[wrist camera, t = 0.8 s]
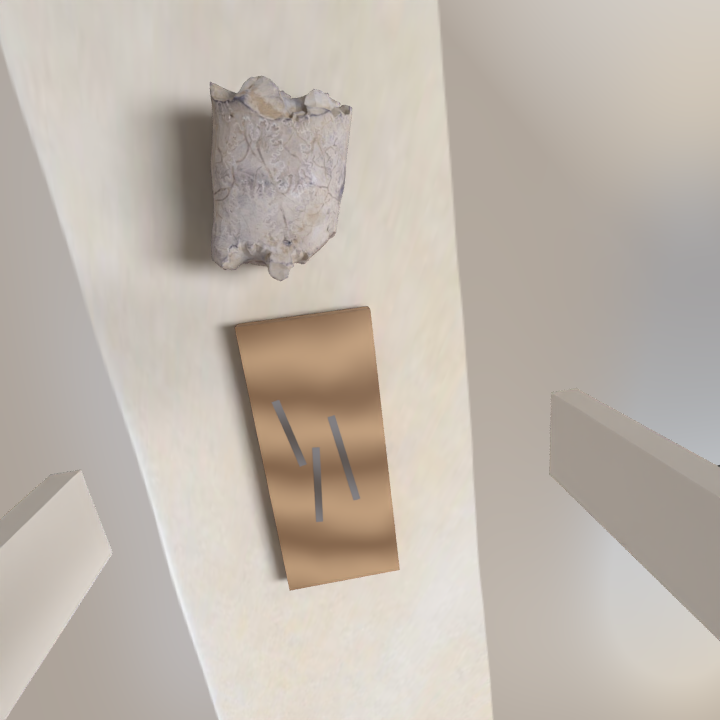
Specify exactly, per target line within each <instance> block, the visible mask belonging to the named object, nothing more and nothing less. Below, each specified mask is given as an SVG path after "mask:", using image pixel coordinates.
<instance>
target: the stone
mask: <svg viewBox="0 0 720 720" xmlns="http://www.w3.org/2000/svg"><path fill="white" fill-rule="evenodd" d="M210 95H211V101H212V117H213V131H212V137H213V138H212V154H211V176H212V187H213V195H214V222H213V228H212V239H211V252H212V260H213V261H214V262H215V263H216V264H218V265H219V266H220V267H222V268H223V269H224V270H227V269H231V270H236V268H237V267H238V266H240V265H241V264H242V263H244V264H246V263H252V264H256V265H261V266H267V267H268V271H269V274H270V275H271V276H272V277H273V278H274V279H277V280H279V281H282V280H284V279H286V278H288V275H289V271H290V269H291V268H292V267H293V266H294V263H300V264H305V263H306V262H307V261H308V260H309V259H310V258H311V257H312V256H313V255H314V254H315V253H316V252H317V251H318V250H319V249H321V248H322V247H323V246H324V245H325V244H326V243H327V241H328V240H329V239H330V238H332V237H333V236H334V235H335V233H336V229H337V221H338V220H337V219H338V215H339V208H340V202H341V197H342V193H343V189H344V184H345V174H346V159H347V150H348V142H349V133H350V126H351V117H352V107H350V106H347V105H342V106H341V107H340V103H339V102H337V101H335V100H333V99H331V98H330V97H329V94H328V93H323V92H322V91H320V90H315V89H313V90H312V91H311V92H310V93H308V94H307V95H305V96H303V97H301V98H293V99H290V98H291V96H290V95H287V94H286V93H285V92H284V91H279V89H278V87H277V86H276V85H275V84H274V83H273V82H272V81H271V80H270V79H268V78H266V77H264V76H258V77H251V78H249V79H248V80H247V81H246V82H245V83H244V84H243V85H242V87H241V89H240V91H239V92H238V93H234V92H231V91H229V90H226V89H224V88H222V87H220V86H218V85H216V84H214V83H212V82H210Z"/></svg>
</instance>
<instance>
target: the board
mask: <svg viewBox="0 0 720 720" xmlns="http://www.w3.org/2000/svg"><path fill="white" fill-rule="evenodd" d="M235 332H236V336H237V341H238V346H239V351H240V355H241V360H242V365H243V370H244V375H245V379H246V384H247V389H248V394H249V398H250V403H251V408H252V413H253V417H254V422H255V427H256V432H257V437H258V441H259V446H260V451H261V456H262V460H263V465H264V470H265V475H266V479H267V484H268V489H269V494H270V499H271V503H272V508H273V513H274V518H275V522H276V527H277V532H278V537H279V542H280V546H281V551H282V556H283V561H284V565H285V570H286V575H287V580H288V584H289V589H290V590H295V589H300V588H306V587H311V586H316V585H322V584H327V583H332V582H338V581H343V580H348V579H353V578H359V577H364V576H369V575H375V574H380V573H385V572H390V571H396V570H400V569H399V560H398V552H397V543H396V534H395V525H394V516H393V507H392V498H391V489H390V481H389V472H388V463H387V454H386V445H385V436H384V427H383V418H382V410H381V401H380V392H379V383H378V374H377V365H376V356H375V347H374V339H373V330H372V321H371V312H370V308H369V307H368V306H367V307H359V308H352V309H345V310H337V311H330V312H323V313H315V314H308V315H300V316H293V317H286V318H278V319H271V320H264V321H256V322H249V323H242V324H238V325H237V326H236V327H235Z"/></svg>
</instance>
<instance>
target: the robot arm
mask: <svg viewBox="0 0 720 720" xmlns="http://www.w3.org/2000/svg"><path fill="white" fill-rule="evenodd" d="M549 474H550V475H551V477H553V478H554V479H555V480H556V481H557V482H558V483H559V484H560V485H561V486H562V487H563V488H564V489H565V490H566V491H567V492H568V493H569V494H570V495H571V496H572V497H573V498H574V499H575V500H576V501H577V502H578V503H579V504H580V505H581V506H582V507H583V508H584V509H585V510H586V511H587V512H588V513H589V514H590V515H591V516H592V517H593V518H595V520H596V521H598V522H599V523H600V524H601V525H602V526H603V527H604V528H605V529H606V530H607V531H608V532H609V533H610V534H611V535H612V536H613V537H614V538H615V539H616V540H617V541H618V542H619V543H620V544H621V545H622V546H623V547H624V548H625V549H626V550H627V551H628V552H629V553H631V555H632V556H633V557H634V558H635V559H636V560H638V562H639V563H641V564H642V565H643V566H644V567H645V568H646V569H647V570H648V571H649V572H650V573H651V574H652V575H653V576H654V577H655V578H656V579H657V580H658V581H659V582H660V583H661V584H662V585H663V586H664V587H665V588H666V589H667V590H668V591H669V592H670V593H671V594H672V595H673V596H674V597H675V598H676V599H677V600H678V601H679V602H680V603H681V604H682V605H683V606H684V607H686V608H687V609H688V610H689V611H690V612H691V613H692V614H693V615H694V616H695V617H696V618H697V619H698V620H699V621H700V622H701V623H702V624H703V625H704V626H705V627H706V628H707V629H708V630H709V631H710V632H711V633H712V634H713V635H714V636H715V637H716V638H717V639H718V640H719V641H720V465H718V466H716V465H715V464H713V463H711V462H709V461H707V460H706V459H704V458H702V457H700V456H698V455H696V454H695V453H693V452H691V451H689V450H687V449H685V448H684V447H682V446H680V445H678V444H677V443H675V442H673V441H671V440H669V439H667V438H666V437H664V436H662V435H660V434H658V433H657V432H655V431H653V430H651V429H649V428H647V427H646V426H644V425H642V424H640V423H638V422H636V421H635V420H633V419H631V418H629V417H627V416H626V415H624V414H622V413H620V412H618V411H617V410H615V409H613V408H611V407H609V406H608V405H606V404H604V403H602V402H600V401H598V400H597V399H595V398H593V397H591V396H589V395H588V394H586V393H584V392H582V391H580V390H579V389H577V388H574V389H569V390H562V391H556V392H551V423H550V467H549ZM111 555H112V550H111V548H110V545H109V543H108V540H107V537H106V534H105V532H104V529H103V527H102V524H101V522H100V519H99V516H98V514H97V511H96V508H95V506H94V503H93V500H92V498H91V495H90V493H89V490H88V487H87V485H86V482H85V479H84V477H83V474H82V472H81V470H75V471H70V472H63V473H57V474H51V475H49V476H48V477H47V478H46V479H45V480H44V481H43V482H42V483H40V484H39V485H38V486H37V487H36V488H35V489H34V490H32V491H31V492H30V493H29V494H28V495H27V496H26V497H25V498H24V499H22V500H21V501H20V502H19V503H18V504H17V505H16V506H14V508H12V509H11V510H10V511H9V512H8V513H6V515H4V516H3V517H2V518H1V519H0V720H5V719H6V718H7V716H8V715H9V713H10V711H11V710H12V708H13V707H14V705H15V704H16V702H17V701H18V699H19V698H20V696H21V694H22V693H23V691H24V690H25V688H26V687H27V685H28V684H29V682H30V680H31V679H32V677H33V676H34V674H35V673H36V671H37V670H38V668H39V667H40V665H41V663H42V662H43V660H44V659H45V657H46V655H47V654H48V653H49V651H50V649H51V648H52V646H53V645H54V643H55V642H56V640H57V638H58V637H59V636H60V634H61V632H62V631H63V629H64V628H65V626H66V625H67V623H68V622H69V620H70V618H71V617H72V615H73V614H74V612H75V611H76V609H77V608H78V606H79V604H80V603H81V601H82V600H83V598H84V597H85V595H86V594H87V592H88V590H89V589H90V587H91V586H92V584H93V583H94V581H95V580H96V578H97V577H98V574H99V573H100V572H101V570H102V569H103V567H104V565H105V564H106V563H107V561H108V559H109V558H110V556H111Z"/></svg>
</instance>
